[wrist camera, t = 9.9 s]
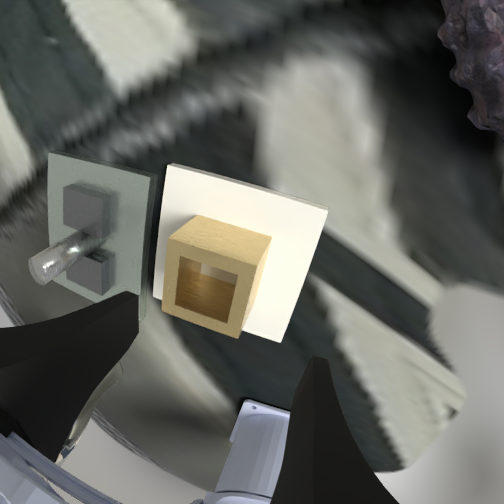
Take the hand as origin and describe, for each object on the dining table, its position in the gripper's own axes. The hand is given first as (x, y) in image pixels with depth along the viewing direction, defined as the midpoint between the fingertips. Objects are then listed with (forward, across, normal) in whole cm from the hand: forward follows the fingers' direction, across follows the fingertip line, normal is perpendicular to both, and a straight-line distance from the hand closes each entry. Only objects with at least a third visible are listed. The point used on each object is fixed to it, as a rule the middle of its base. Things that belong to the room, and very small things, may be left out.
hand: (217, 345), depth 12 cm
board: (+9, +2, +1) cm, 10 cm away
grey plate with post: (+9, +13, +3) cm, 16 cm away
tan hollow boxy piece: (+9, +2, +1) cm, 9 cm away
